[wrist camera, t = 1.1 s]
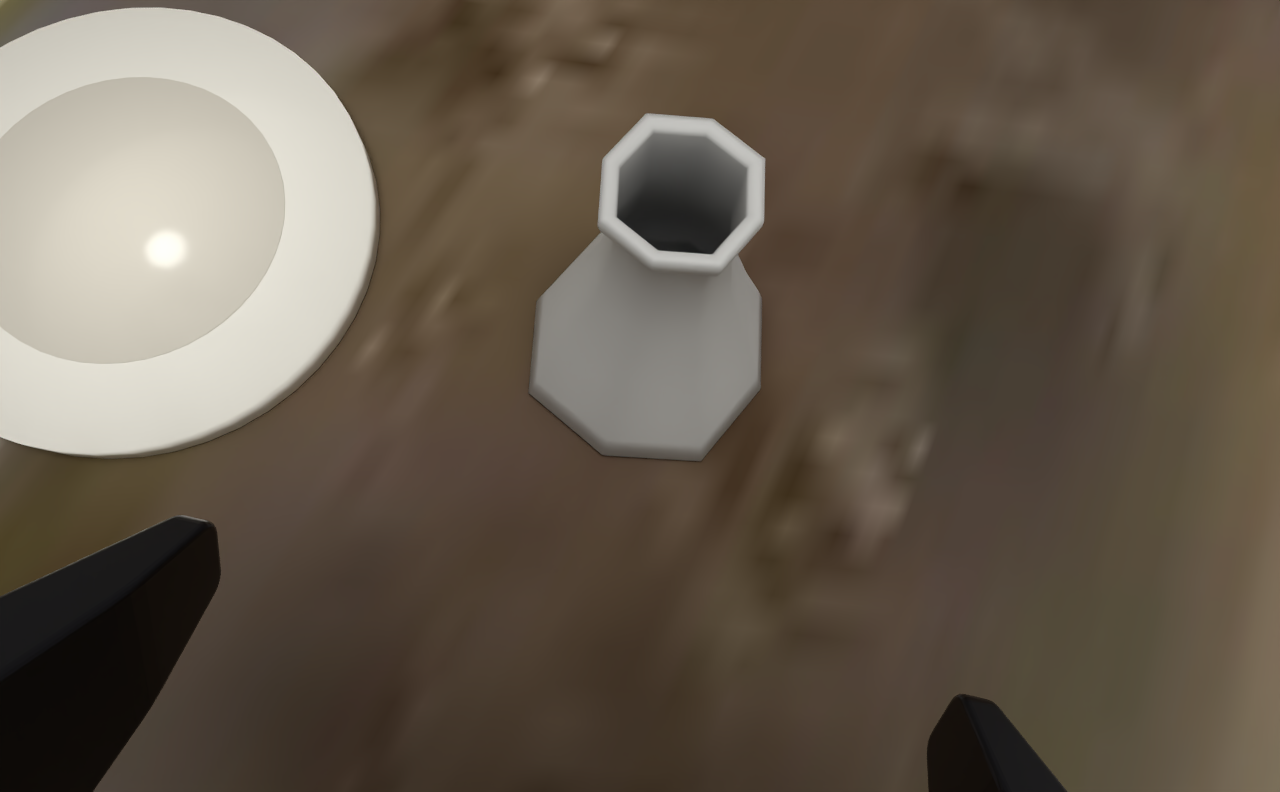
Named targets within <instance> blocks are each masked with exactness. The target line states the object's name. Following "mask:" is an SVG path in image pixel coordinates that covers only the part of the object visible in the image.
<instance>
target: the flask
mask: <svg viewBox="0 0 1280 792" xmlns="http://www.w3.org/2000/svg"><path fill="white" fill-rule="evenodd" d="M764 195H765V158H763V157H762V156H761V155H759V154H758V153H757V152H756V151H754V150H753V149H752V148H750V147H749V146H748V145H746V144H745V143H744V142H743V141H741V140H740V139H739V138H737V137H736V136H735V135H733V134H732V133H731V132H730V131H728V130H727V129H726V128H724V127H723V126H722V125H720V124H719V123H718V122H716V121H715V120H714V119H710V118H698V117H685V116H673V115H660V114H647V113H646V114H645V115H644V116H643V117H642V118H641V119H640V120H639V122H638V123H637V124H636V125H635V126H634V127H633V128H632V129H631V130H630V131H629V132H628V133H627V134H626V135H625V136H624V137H623V138H622V139H621V140H620V141H619V142H618V143H617V144H616V145H615V146H614V147H613V149H612V150H611V151H610V152H609V153H608V154H607V155H606V156H605V157H604V158H603V161H602V172H601V186H600V200H599V215H598V228H599V230H600V232H601V233H600V234H599V235H598V236H597V237H596V238H595V239H594V240H593V241H592V242H591V243H590V244H589V246H588V247H587V248H586V249H585V250H584V251H583V252H582V253H581V254H580V255H579V256H578V257H577V258H576V259H575V260H574V262H573V263H572V264H571V265H570V266H569V267H568V268H567V269H566V270H565V271H564V272H563V273H562V274H561V275H560V276H559V278H558V279H557V280H556V281H555V282H554V283H553V284H552V285H551V286H550V287H549V288H548V289H547V290H546V291H545V293H544V294H543V295H542V296H541V297H540V298H539V299H538V300H537V302H536V313H535V325H534V336H533V348H532V359H531V370H530V382H529V394H531V395H532V396H533V397H534V398H535V399H537V400H538V401H539V402H540V403H541V404H542V405H544V406H545V407H546V408H547V409H548V410H550V411H551V412H552V413H553V414H554V415H556V416H557V417H558V418H559V419H560V420H561V421H563V422H564V423H565V424H566V425H567V426H569V427H570V428H571V429H572V430H573V431H575V432H576V433H577V434H578V435H579V436H580V437H582V438H583V439H584V440H585V441H586V442H588V443H589V444H590V445H591V446H592V447H594V448H595V449H596V450H597V451H598V452H599V453H601V454H602V455H606V456H623V457H639V458H656V459H672V460H689V461H701V460H702V459H703V458H704V457H705V456H706V454H707V453H708V452H709V451H710V450H711V448H712V447H713V446H714V445H715V444H716V442H717V441H718V440H719V439H720V437H721V436H722V435H723V434H724V433H725V431H726V430H727V429H728V428H729V427H730V425H731V424H732V423H733V422H734V421H735V419H736V418H737V417H738V416H739V414H740V413H741V412H742V411H743V410H744V408H745V407H746V406H747V405H748V404H749V402H750V401H751V400H752V399H753V397H754V396H755V395H756V394H757V393H758V391H759V390H760V389H761V332H762V298H761V296H760V294H759V291H758V290H757V288H756V287H755V285H754V284H753V282H752V281H751V279H750V278H749V276H748V274H747V273H746V271H745V269H744V267H743V265H742V262H741V260H740V258H739V256H738V253H739V252H740V251H741V250H742V249H743V248H744V247H745V245H746V244H747V243H748V242H749V241H750V240H751V239H752V237H753V236H754V235H755V234H756V233H757V232H758V231H759V229H760V228H761V227H762V226H763V222H764Z"/></svg>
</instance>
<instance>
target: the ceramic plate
mask: <svg viewBox="0 0 1280 792" xmlns="http://www.w3.org/2000/svg"><path fill="white" fill-rule="evenodd" d="M379 237H380V205H379V197H378V190H377V183H376V179H375V175H374V172H373V168H372V165H371V162H370V158H369V155H368V153H367V151H366V149H365V147H364V144H363V142H362V140H361V138H360V136H359V134H358V131H357V130H356V128H355V126H354V124H353V122H352V120H351V118H350V116H349V114H348V112H347V111H346V109H345V108H344V106H343V105H342V103H341V102H340V100H339V99H338V97H337V96H336V94H335V93H334V91H333V90H332V89H331V88H330V87H329V86H328V84H327V83H326V82H325V81H324V80H323V79H322V78H321V76H320V75H319V74H318V73H317V72H316V71H315V70H314V69H313V68H312V67H310V66H309V65H308V64H307V63H306V62H305V61H303V60H302V59H301V58H300V57H299V56H298V55H296V54H295V53H294V52H292V51H291V50H289V49H288V48H286V47H285V46H283V45H281V44H280V43H278V42H277V41H275V40H274V39H272V38H270V37H268V36H266V35H264V34H262V33H260V32H258V31H256V30H254V29H252V28H250V27H247V26H245V25H242V24H239V23H236V22H233V21H230V20H227V19H224V18H221V17H218V16H214V15H209V14H204V13H199V12H194V11H190V10H179V9H169V8H126V9H118V10H110V11H102V12H96V13H91V14H87V15H83V16H78V17H74V18H70V19H66V20H63V21H60V22H57V23H54V24H52V25H49V26H46V27H43V28H40V29H37V30H35V31H33V32H31V33H29V34H26V35H24V36H22V37H20V38H18V39H16V40H14V41H11V42H9V43H7V44H6V45H4V46H2V47H1V48H0V437H2V438H4V439H7V440H10V441H13V442H16V443H19V444H22V445H26V446H30V447H34V448H38V449H42V450H46V451H51V452H56V453H61V454H66V455H71V456H76V457H89V458H103V459H117V458H136V457H146V456H152V455H158V454H163V453H169V452H174V451H178V450H182V449H185V448H188V447H192V446H195V445H198V444H202V443H205V442H208V441H211V440H213V439H215V438H218V437H220V436H222V435H224V434H227V433H229V432H231V431H234V430H236V429H238V428H240V427H242V426H244V425H245V424H247V423H249V422H251V421H252V420H254V419H256V418H257V417H259V416H261V415H263V414H264V413H266V412H268V411H269V410H271V409H272V408H273V407H275V406H276V405H277V404H279V403H280V402H281V401H283V400H284V399H285V398H287V397H288V396H289V395H291V394H292V393H293V392H295V391H296V390H297V389H298V388H299V387H300V386H301V385H302V384H303V383H304V382H305V381H306V380H307V379H308V378H309V377H310V376H311V375H312V374H313V373H314V372H315V371H317V370H318V369H319V367H320V366H321V365H322V364H323V363H324V361H325V360H326V359H327V358H328V356H329V355H330V354H331V353H332V351H333V350H334V349H335V348H336V347H337V345H338V344H339V342H340V341H341V339H342V338H343V336H344V334H345V333H346V331H347V330H348V328H349V326H350V325H351V323H352V322H353V320H354V318H355V316H356V314H357V312H358V310H359V308H360V305H361V303H362V301H363V299H364V297H365V294H366V292H367V290H368V286H369V283H370V280H371V276H372V273H373V270H374V266H375V263H376V256H377V250H378V243H379Z"/></svg>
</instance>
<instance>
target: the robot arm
mask: <svg viewBox="0 0 1280 792" xmlns="http://www.w3.org/2000/svg"><path fill="white" fill-rule="evenodd" d="M220 575H221V567H220V557H219V547H218V537H217V530H216V527H215V526H214V524H213V523H211V522H209V521H206V520H202V519H198V518H193V517H189V516H184V515H178V516H174V517H171V518H169V519H167V520H165V521H162V522H160V523H158V524H156V525H154V526H152V527H150V528H147V529H145V530H143V531H141V532H139V533H137V534H134V535H132V536H130V537H128V538H126V539H124V540H121V541H119V542H117V543H115V544H113V545H111V546H108V547H106V548H104V549H102V550H100V551H98V552H96V553H93V554H91V555H89V556H87V557H85V558H83V559H80V560H78V561H76V562H74V563H72V564H70V565H67V566H65V567H63V568H61V569H59V570H57V571H54V572H52V573H50V574H48V575H46V576H44V577H41V578H39V579H37V580H35V581H33V582H31V583H29V584H26V585H24V586H22V587H20V588H18V589H16V590H13V591H11V592H9V593H7V594H5V595H3V596H0V792H93V791H94V789H95V788H96V786H97V785H98V783H99V782H100V781H101V779H102V778H103V776H104V775H105V773H106V772H107V770H108V769H109V768H110V766H111V765H112V763H113V762H114V760H115V759H116V758H117V756H118V755H119V753H120V752H121V750H122V749H123V748H124V746H125V745H126V743H127V742H128V740H129V739H130V738H131V736H132V735H133V733H134V732H135V730H136V729H137V728H138V726H139V725H140V723H141V722H142V720H143V719H144V717H145V716H146V714H147V713H148V711H149V710H150V708H151V706H152V705H153V703H154V701H155V700H156V698H157V696H158V695H159V693H160V691H161V690H162V688H163V686H164V684H165V682H166V681H167V679H168V677H169V675H170V673H171V672H172V670H173V668H174V666H175V664H176V662H177V661H178V659H179V657H180V655H181V653H182V652H183V650H184V648H185V646H186V644H187V643H188V641H189V639H190V637H191V635H192V634H193V632H194V630H195V628H196V626H197V624H198V623H199V621H200V619H201V617H202V615H203V614H204V612H205V610H206V608H207V606H208V605H209V603H210V601H211V599H212V597H213V596H214V594H215V592H216V590H217V587H218V584H219V581H220ZM927 768H928V788H929V792H1067V790H1066V789H1065V788H1064V787H1063V786H1062V784H1061V783H1060V782H1059V781H1058V779H1057V778H1056V777H1055V776H1054V774H1053V773H1052V772H1051V771H1050V770H1049V768H1048V767H1047V766H1046V765H1045V763H1044V762H1043V761H1042V760H1041V758H1040V757H1039V756H1038V755H1037V754H1036V752H1035V751H1034V750H1033V749H1032V747H1031V746H1030V745H1029V744H1028V743H1027V741H1026V740H1025V739H1024V738H1023V736H1022V735H1021V734H1020V733H1019V731H1018V730H1017V729H1016V728H1015V727H1014V725H1013V724H1012V723H1011V722H1010V720H1009V719H1008V718H1007V717H1006V715H1005V714H1004V713H1003V712H1002V711H1001V709H1000V708H999V707H998V706H997V705H996V704H995V703H994V702H992V701H990V700H988V699H983V698H979V697H975V696H970V695H966V694H959V695H957V696H955V697H954V698H953V699H952V700H951V702H950V704H949V705H948V707H947V708H946V710H945V712H944V713H943V715H942V717H941V718H940V720H939V721H938V723H937V725H936V726H935V728H934V730H933V731H932V733H931V735H930V738H929V741H928V746H927Z"/></svg>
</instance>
